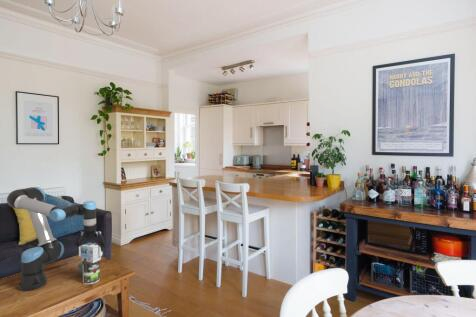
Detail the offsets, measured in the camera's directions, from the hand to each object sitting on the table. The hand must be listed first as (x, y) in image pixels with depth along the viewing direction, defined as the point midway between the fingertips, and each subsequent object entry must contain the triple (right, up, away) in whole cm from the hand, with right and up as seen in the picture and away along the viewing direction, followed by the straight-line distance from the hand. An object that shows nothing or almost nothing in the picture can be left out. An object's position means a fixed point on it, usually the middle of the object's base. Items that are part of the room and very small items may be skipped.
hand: (90, 255), depth 190 cm
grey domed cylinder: (-11, -17, +10) cm, 22 cm away
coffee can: (0, -17, +1) cm, 17 cm away
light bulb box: (0, -3, 0) cm, 3 cm away
